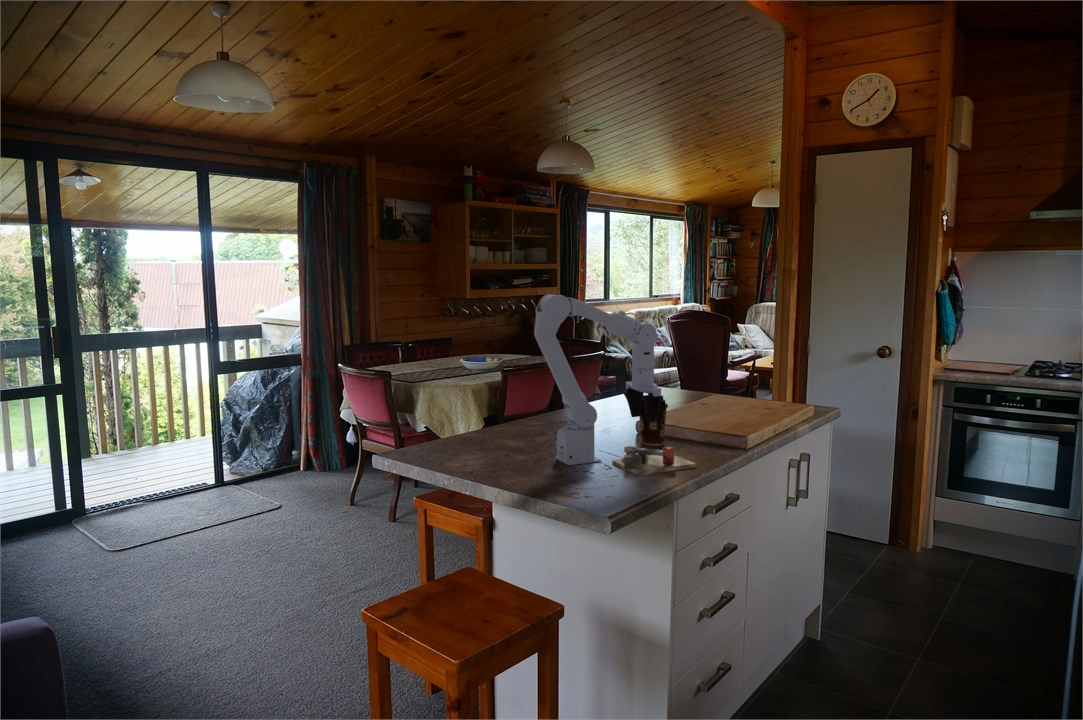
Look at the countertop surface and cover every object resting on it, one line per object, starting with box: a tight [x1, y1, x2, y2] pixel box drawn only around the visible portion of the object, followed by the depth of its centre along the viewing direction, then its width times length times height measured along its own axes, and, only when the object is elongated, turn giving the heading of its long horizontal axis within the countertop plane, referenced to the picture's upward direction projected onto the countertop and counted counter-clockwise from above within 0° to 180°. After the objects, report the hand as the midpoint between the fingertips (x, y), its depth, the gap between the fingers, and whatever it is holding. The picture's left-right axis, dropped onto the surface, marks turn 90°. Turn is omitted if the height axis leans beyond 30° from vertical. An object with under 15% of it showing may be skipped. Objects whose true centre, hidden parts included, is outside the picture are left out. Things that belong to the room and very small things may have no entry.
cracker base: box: [611, 453, 697, 477], centre depth 177 cm, size 18×12×4 cm, turn 113°
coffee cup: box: [639, 398, 669, 447], centre depth 201 cm, size 9×8×13 cm
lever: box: [623, 445, 675, 465], centre depth 176 cm, size 13×3×4 cm, turn 62°
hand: (642, 419), depth 187 cm, fingers open, 7 cm apart
